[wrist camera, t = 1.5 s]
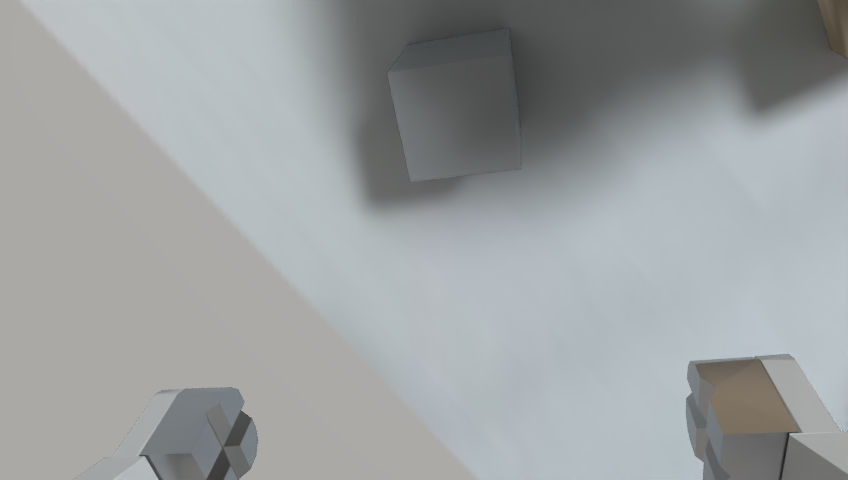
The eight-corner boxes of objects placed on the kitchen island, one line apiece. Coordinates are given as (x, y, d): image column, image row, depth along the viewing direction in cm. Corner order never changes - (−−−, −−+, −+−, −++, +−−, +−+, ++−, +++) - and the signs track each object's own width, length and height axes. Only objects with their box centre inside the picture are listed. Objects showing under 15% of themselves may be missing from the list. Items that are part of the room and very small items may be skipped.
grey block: (520, 126, 31) (520, 169, 26) (426, 139, 32) (410, 182, 27) (509, 27, 29) (507, 54, 24) (407, 44, 30) (386, 73, 25)
